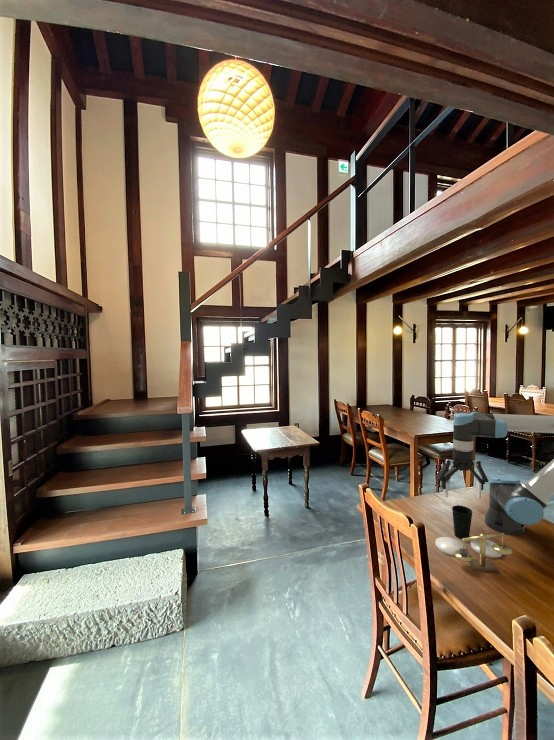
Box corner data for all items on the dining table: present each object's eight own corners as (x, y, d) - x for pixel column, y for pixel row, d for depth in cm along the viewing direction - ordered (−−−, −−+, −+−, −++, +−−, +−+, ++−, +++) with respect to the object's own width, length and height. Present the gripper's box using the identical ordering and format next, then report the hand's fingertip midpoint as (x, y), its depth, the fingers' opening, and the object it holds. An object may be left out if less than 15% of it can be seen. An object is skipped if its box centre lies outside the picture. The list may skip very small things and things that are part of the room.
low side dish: (458, 540, 136) (458, 537, 135) (470, 556, 125) (470, 553, 125) (431, 539, 137) (431, 536, 137) (441, 555, 126) (441, 552, 126)
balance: (505, 562, 121) (506, 528, 120) (515, 573, 115) (516, 537, 114) (451, 559, 123) (451, 526, 122) (458, 570, 117) (459, 535, 116)
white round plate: (492, 541, 134) (492, 539, 134) (508, 558, 123) (508, 555, 123) (465, 540, 135) (465, 537, 135) (478, 557, 124) (479, 554, 124)
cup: (474, 542, 134) (475, 514, 133) (455, 540, 136) (455, 513, 135) (467, 531, 142) (468, 506, 141) (449, 530, 143) (449, 504, 142)
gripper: (488, 446, 139) (487, 493, 140) (429, 445, 142) (429, 491, 143) (498, 452, 131) (497, 501, 133) (436, 451, 134) (435, 499, 135)
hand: (461, 496), depth 138 cm, fingers open, 13 cm apart
